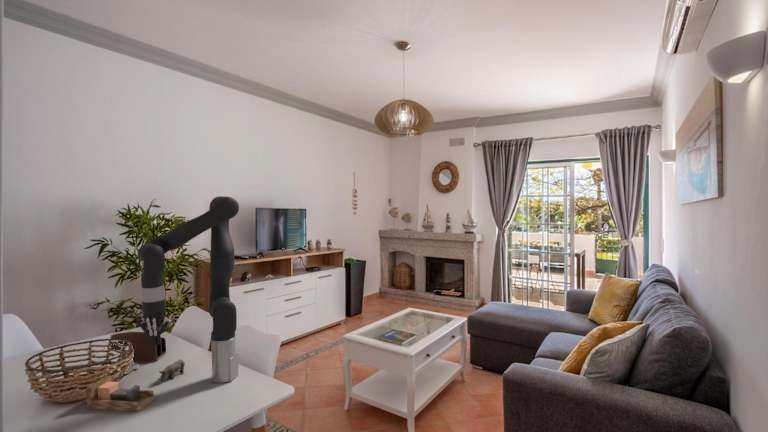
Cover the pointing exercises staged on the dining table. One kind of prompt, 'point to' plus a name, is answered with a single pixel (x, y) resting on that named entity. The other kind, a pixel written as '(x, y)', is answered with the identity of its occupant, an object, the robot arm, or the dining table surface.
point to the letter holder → (141, 346)
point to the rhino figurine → (172, 370)
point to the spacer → (107, 390)
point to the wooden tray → (96, 403)
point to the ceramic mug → (132, 365)
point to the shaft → (126, 394)
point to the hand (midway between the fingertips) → (156, 344)
